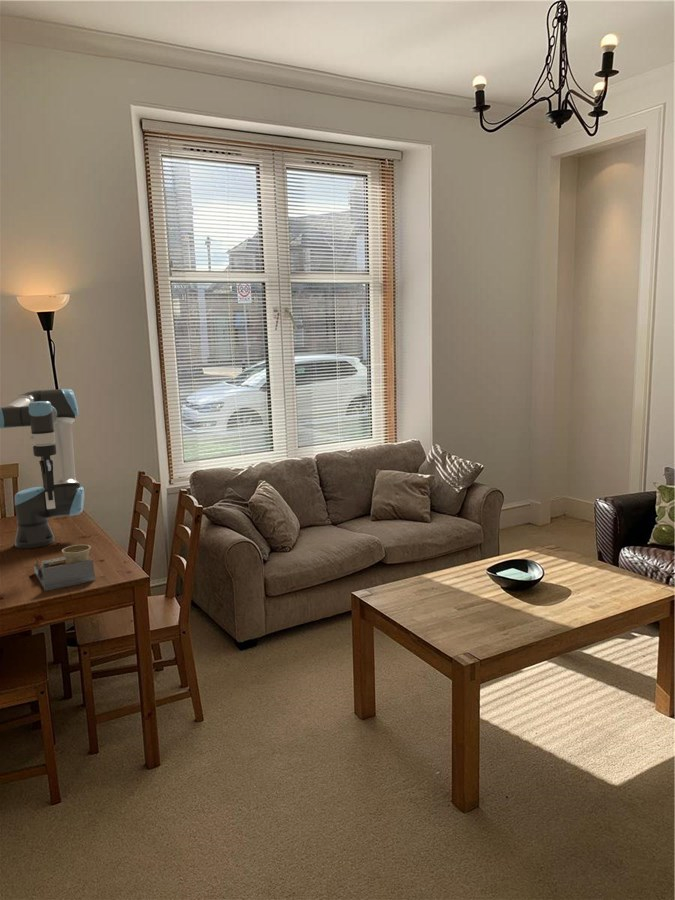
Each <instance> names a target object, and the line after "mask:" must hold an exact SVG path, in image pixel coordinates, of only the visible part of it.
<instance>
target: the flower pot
mask: <svg viewBox="0 0 675 900" xmlns="http://www.w3.org/2000/svg"><path fill="white" fill-rule="evenodd" d="M91 549H92V547H91V545H89V544H75V545H70V546H67V547H64V548H62V549H61V553H63V557H65V559H66V563H67V564H69V563H74V562H79V561H84V560H89V556H90V550H91Z"/></svg>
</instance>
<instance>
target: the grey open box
mask: <svg viewBox="0 0 675 900" xmlns="http://www.w3.org/2000/svg"><path fill="white" fill-rule="evenodd" d="M33 566H34V568H33V569H34V574H35V576H36V577H37V580H39V583H40V585H41V586H42V588H43V590H44V592H48V591H52V590H56V589H57V590H58V589H62V588H66V587H72V586H76V585H81V584H84V583H89V582H90V583H91V582H94V581H96V578H95V568H94V567H95V566H94V560H93V559H92V558H91V559H89V558H88V560H84V561H79V562H74V563H69V564H64V565H58V566H53V567H48V568H43V569H42V567H40V565H39V562H37V563H34V564H33ZM42 571H43V572H42Z"/></svg>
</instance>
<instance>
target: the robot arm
mask: <svg viewBox="0 0 675 900" xmlns="http://www.w3.org/2000/svg"><path fill="white" fill-rule="evenodd" d="M76 398H77V397H76V395H75V393H74V391H73V389H70V388H58V389H57V388H56V389H42V390H38V389H37V390H32V391H27V392H24V393H21V394H19V395H17V396H15V397H14V398H12V399H11V402H10V403H8V404H7V405H6V406H4V407H0V429H7V428H22V427H26V428H27V427H30V430H31V431H30V433H31V436H30V437H29V438H30V440H32V445H33V447H32V450H33V451H32V452H33V456H34V457H37V458H38V457H39V458H40V460H39V461H38V462H39V465H40V472H41V477H42V485H43V486H34V487H28V488H25V489H23V490H19V491H17V492H16V493H15V494H14V507H15V514H16V522H17V529H16V535H15V538H14V547H15V548H17V549H21V550H22V549H23V550H24V549H25V550H28V549H36V548H42V547H45V546H48V545H51V544H53V543H54V542H55V534H54V533H53V531H52V528H51V526H50V524H49V520H48V519H50V518H60V517H61V518H62V517H72V516H75V515H76V516H77V515H81V514H82V513H83V510H84V506H85V505H84V504H85V488H84V486H81V483H80V482H79V481H78V480H77V478H76V477H77V476H76V466H75V465H76V463H75V452H74V451H75V450H74V434H73V424H74V422H75V421H76V417H77V416H79V415H80V413H79V406H78V401H77V399H76ZM51 456H52V458H51Z"/></svg>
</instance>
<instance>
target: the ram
mask: <svg viewBox="0 0 675 900" xmlns="http://www.w3.org/2000/svg"><path fill="white" fill-rule="evenodd" d="M40 562H41V568H42V569H43V568H48V567H53V566H58V565H64V564H67V563H66V559H65V556H61V557H55V558H49V559H46V560H41V561H40ZM42 572H43V571H42Z"/></svg>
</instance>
